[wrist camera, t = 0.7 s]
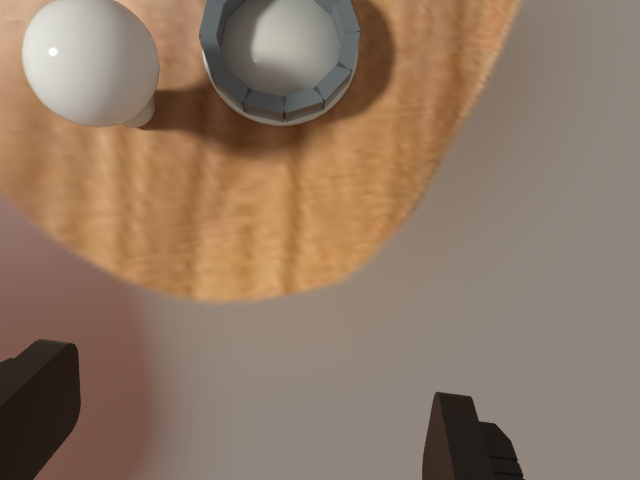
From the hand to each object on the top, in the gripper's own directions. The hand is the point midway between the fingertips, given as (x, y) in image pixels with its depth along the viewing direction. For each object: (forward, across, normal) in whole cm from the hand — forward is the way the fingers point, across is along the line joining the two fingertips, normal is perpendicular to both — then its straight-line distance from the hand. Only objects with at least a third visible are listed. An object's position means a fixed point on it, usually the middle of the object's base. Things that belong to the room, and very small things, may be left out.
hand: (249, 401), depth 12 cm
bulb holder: (+28, +4, -7) cm, 29 cm away
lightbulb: (+25, +13, -3) cm, 28 cm away
